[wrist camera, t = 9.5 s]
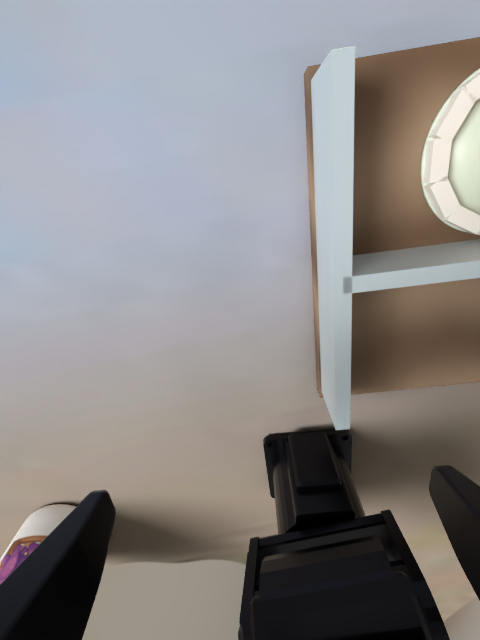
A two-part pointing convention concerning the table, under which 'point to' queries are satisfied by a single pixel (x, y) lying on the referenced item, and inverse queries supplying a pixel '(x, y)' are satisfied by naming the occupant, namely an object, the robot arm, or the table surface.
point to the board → (394, 219)
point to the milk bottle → (32, 536)
